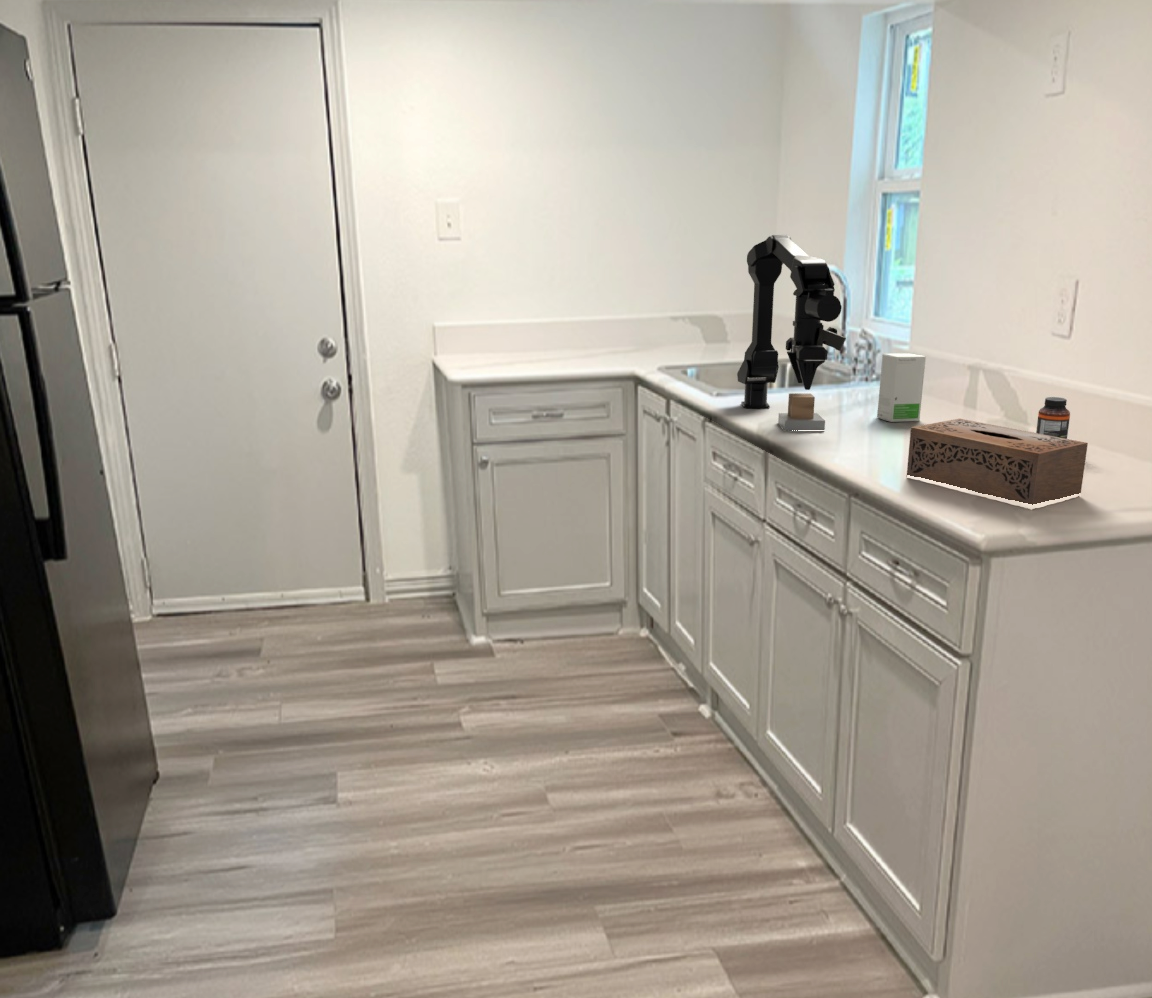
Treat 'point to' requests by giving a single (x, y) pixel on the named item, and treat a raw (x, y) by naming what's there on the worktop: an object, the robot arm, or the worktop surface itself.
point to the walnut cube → (801, 406)
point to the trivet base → (801, 423)
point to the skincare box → (901, 387)
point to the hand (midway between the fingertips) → (803, 386)
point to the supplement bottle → (1053, 418)
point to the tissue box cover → (997, 460)
